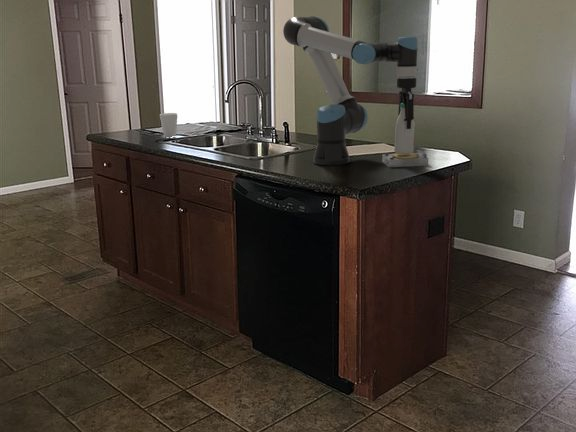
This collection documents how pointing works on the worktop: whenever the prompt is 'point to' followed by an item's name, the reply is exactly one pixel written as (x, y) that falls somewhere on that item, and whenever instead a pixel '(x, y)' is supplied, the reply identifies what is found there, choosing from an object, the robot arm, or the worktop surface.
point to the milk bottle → (403, 143)
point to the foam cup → (169, 124)
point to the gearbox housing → (405, 159)
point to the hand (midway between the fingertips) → (405, 135)
